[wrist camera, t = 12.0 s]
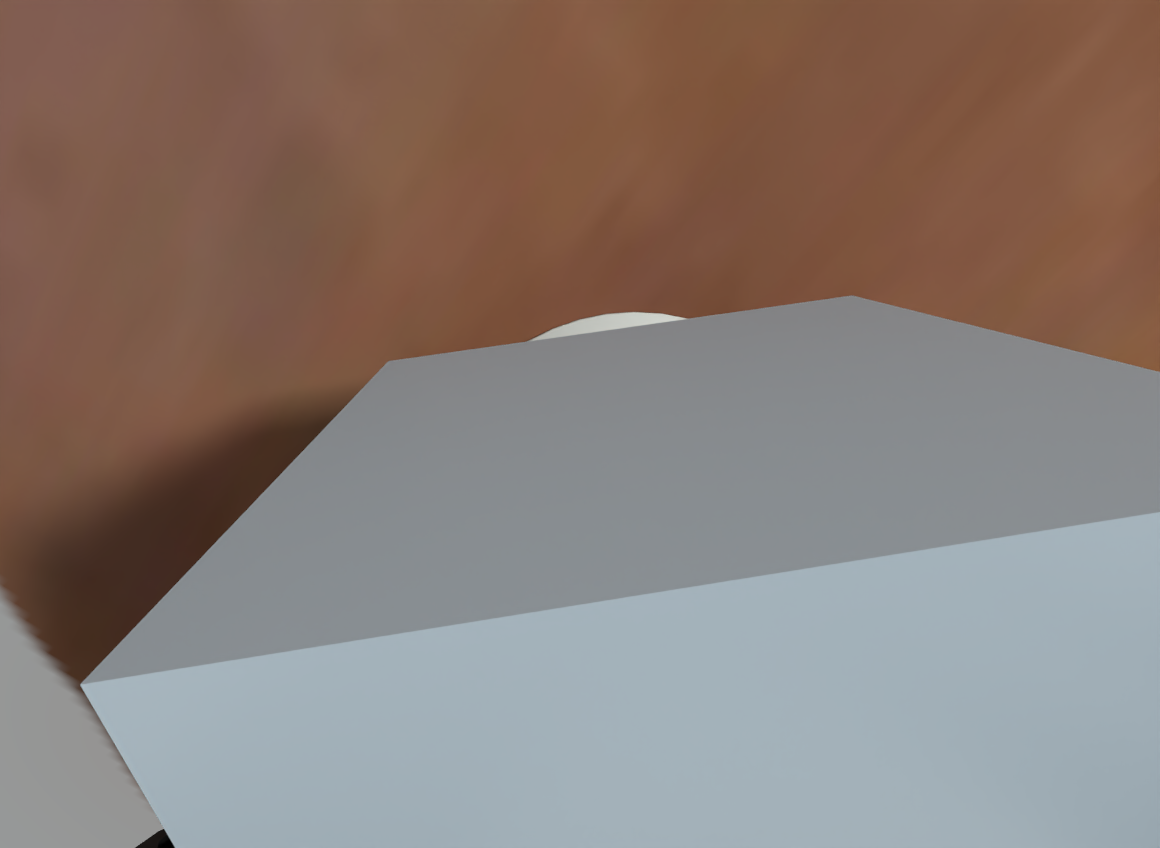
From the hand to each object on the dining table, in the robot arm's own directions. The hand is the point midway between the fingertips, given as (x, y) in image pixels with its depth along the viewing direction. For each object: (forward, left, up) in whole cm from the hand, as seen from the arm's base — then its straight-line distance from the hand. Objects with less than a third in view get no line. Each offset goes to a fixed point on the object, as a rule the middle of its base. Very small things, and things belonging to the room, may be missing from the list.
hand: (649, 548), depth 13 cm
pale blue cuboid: (0, 0, -1) cm, 1 cm away
